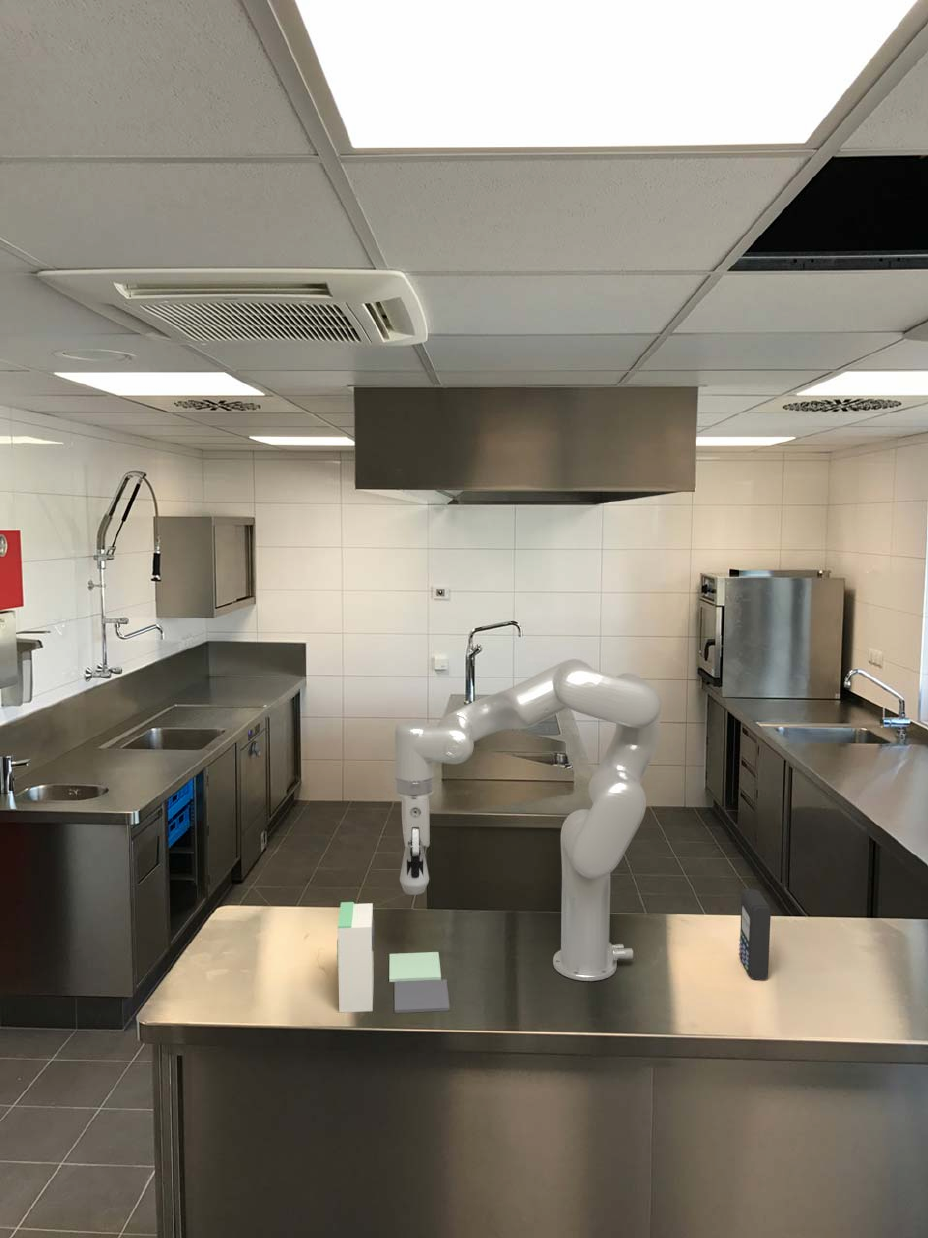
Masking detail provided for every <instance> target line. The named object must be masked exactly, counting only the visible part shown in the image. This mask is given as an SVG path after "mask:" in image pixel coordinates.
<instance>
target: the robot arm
mask: <svg viewBox="0 0 928 1238" xmlns="http://www.w3.org/2000/svg"><path fill="white" fill-rule="evenodd" d="M568 709H570V710H572V711H574V712H577V713H580V714H583V715H586V716H589V717H593V718H595V719H599V720H603V721H606V722H610V723H614V724H616V726H615V729H614V734H613V736H612V739H611V740H610V743H609V745H608V748H607V749H606V751H605V753H604V755H603V756H602V759H601V761H600V762H599V764H598V766H597V768H596V770H595V771H594V773H593V775H592V776H591V779H590V780H589V783H588V795H589V797H590V801H591V803H592V806H591V808H589V809H586V808H585V809H582V808H580V809H578V810H575V811H573V812H571V813H570V814H569V815H568V816H567V817H566V818H565V819H564V822H563V823H562V826H561V828H560V829H561V830H560V857H561V915H560V916H561V917H560V918H561V919H560V921H561V923H560V924H561V925H560V927H561V931H560V932H561V933H560V937H561V938H560V950H558V951H557V952H555V954H554V955H553V959H552V964H553V967H554V969H555V970H556V971H557V972H558V973H559V974H560V975H562V976H564V977H567V978H568V979H572V980H575V981H581V982H582V981H583V982H594V981H601V980H605V979H607V978H610V977H611V976H612V975H614V974H615V973H616V971H617V967H618V965H617V964H618V963H617V961H618V960H619V959H626V960H627V959H629V960H630V959H633V958H634V950H633V948H632V947H628V948H625V947H624V944H623V943H616V944H612V943H611V942H610V924H611V923H610V920H611V919H610V916H611V915H610V912H611V911H610V909H611V873H612V872H613V870H615V869H616V868H617V866H618V864H619V863H620V861H622V859H623V857H624V855H625V853H626V851H627V850H628V848H629V846H630V844H631V842H632V840H633V839H634V837H635V835H636V832H637V831H638V829H639V827H640V825H641V823H642V821H643V819H644V817H645V813H646V807H647V799H646V798H647V797H646V794H645V791H644V788H643V787H642V785H641V783H642V781H643V779H644V777H645V775H646V773H647V771H648V769H649V766H650V764H651V762H652V759H653V758H654V756H655V754H656V751H657V748H658V746H659V745H658V744H659V740H660V734H661V720H660V714H661V711H662V701H661V696H660V695H659V693H658V691H657V690H656V689H655V688H654V687H653V686H652V685H650V683H648V682H647V681H646V680H645V679H643V678H642V677H641V676H639V675H637V674H634V673H630V672H629V673H628V672H627V673H620V674H618V675H617V676H616V675H611V674H609V673H605V672H602V671H599V670H597V669H594V668H592V667H591V666H590V665H589V664H588V663H586V662H585V661H583V660H580V659H576V658H575V659H574V658H573V659H566V660H564V661H562V662H560V663H558V664H556V665H554V666H552V667H550V668H547V669H546V670H543V671H542V672H540V673H538V674H536V675H534V676H531V677H529V678H527V679H526V680H523V681H522V682H519V683H518V684H516V685H515V684H514V685H513V686H511V687H509V688H507V689H504V690H501V691H498V692H496V693H494V694H490V695H487V696H485V697H482V698H480V699H477V700H475V701H473V702H471V703H468V704H466V705H464V706H463V707H460V708H458V709H457V710H454V711H453V712H451V713H449V714H447V715H445V716H444V717H442V719H441V720H440V721H439V722H438V723H437V725H436V727H435V726H433V725H432V724H431V723H430V722H428V721H424V720H408V721H403V722H400V723H399V724H398V725H396V727H395V731H394V736H395V737H394V745H395V747H394V749H395V751H394V756H395V757H394V760H395V761H394V763H395V764H394V765H395V766H394V767H395V782H394V783H395V791H394V792H395V795H397V796H398V797H401V821H402V823H401V824H402V825H401V826H402V834H403V842H404V847H405V846H406V847H407V848H408V860H407V875H408V873H409V870H410V868H411V876H412V877H413V878H418V877H419V868H420V871H421V873H422V875H423V859H422V843H423V847H426V848H429V846H431V845H430V844H431V843H430V842H431V841H430V838H431V837H430V834H431V833H430V796H433V794H434V793H435V763H442V764H449V765H459V764H462V763H465V762H466V761H467V760H468V759H469V758H470V757H471V756H472V754H473V752H474V746H475V745H474V743H475V742H476V741H479V740H480V739H483V738H485V737H488V736H489V735H491V734H494V733H497V732H500V731H503V730H511V729H513V730H524V729H530V728H531V727H534V726H536V725H537V724H540V723H541V722H543V721H546V720H547V719H550V718H552V717H553V716H556V715H558V714H559V713H562V712H564V711H566V710H568ZM418 827H419V828H418ZM419 842H420V844H419ZM410 843H412V844H410ZM411 849H412V851H411ZM419 859H420V860H419Z"/></svg>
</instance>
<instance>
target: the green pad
mask: <svg viewBox="0 0 928 1238" xmlns="http://www.w3.org/2000/svg"><path fill="white" fill-rule="evenodd" d="M388 966H389V968H388V969H389V972H388V973H389V976H388V977H389V983H395V981H418V980H441V979H442V973H441V965H440V955H439V952H438V951H431V952H430V951H429V952H428V951H427V952H407V953H406V952H405V953H402V952H399V953H389V965H388Z"/></svg>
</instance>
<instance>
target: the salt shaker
mask: <svg viewBox="0 0 928 1238" xmlns="http://www.w3.org/2000/svg"><path fill="white" fill-rule="evenodd" d="M418 828H419V827H418ZM410 844H412V843H410ZM419 844H420V842H419ZM411 851H412V849H411ZM422 859H423V875H422V873H421V871H420V868H419V877H418V878H413V877H412V876H411V868H410V870H409V873H408V875H407V860H408V848H407V847H406V846H405V845H404V851H403V858H402V863H401V869H400V875H399V882H400V883H399V884H400V886H401V887H402V889H403V892H405V893H406V894H407V895H411V896H412V895H413V896H417V895H421V894H423V893H425V891H426V889H427V886H428V885H429V881H430V873H429V869H428V864H427V859H426V854H425V849H424V846H423V843H422ZM419 860H420V859H419Z"/></svg>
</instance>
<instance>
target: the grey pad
mask: <svg viewBox="0 0 928 1238" xmlns="http://www.w3.org/2000/svg"><path fill="white" fill-rule="evenodd" d="M449 999H450V998H449V989H448V982H447V979H445V978H444V979H442V978H441V980H418V981H395V982H394V1014H405V1013H406V1014H407V1013H408V1014H409V1013H425V1012H426V1013H427V1012H448V1011H449V1012H450V1000H449Z"/></svg>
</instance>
